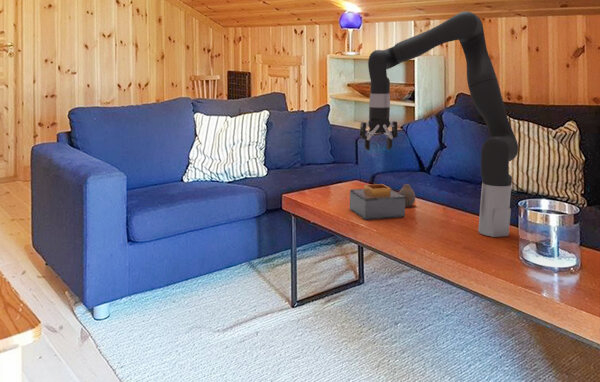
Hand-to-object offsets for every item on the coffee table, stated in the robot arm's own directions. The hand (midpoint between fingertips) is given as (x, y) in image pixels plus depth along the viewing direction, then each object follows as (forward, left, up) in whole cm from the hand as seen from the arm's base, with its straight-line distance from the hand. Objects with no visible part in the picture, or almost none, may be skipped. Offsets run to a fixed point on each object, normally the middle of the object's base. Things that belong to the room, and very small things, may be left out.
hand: (378, 149), depth 201 cm
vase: (+7, -16, -25) cm, 31 cm away
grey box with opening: (+2, 0, -25) cm, 25 cm away
